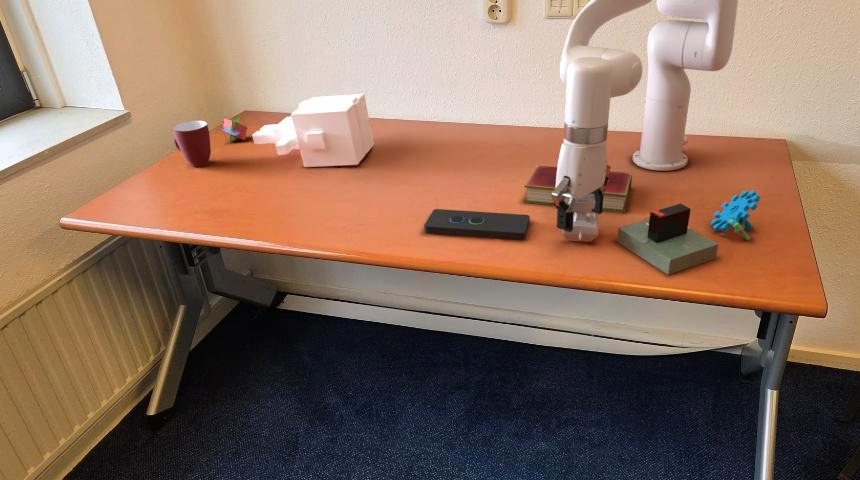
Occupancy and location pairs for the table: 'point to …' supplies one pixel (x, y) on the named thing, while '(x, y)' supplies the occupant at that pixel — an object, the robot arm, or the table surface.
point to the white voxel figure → (323, 131)
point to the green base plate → (667, 247)
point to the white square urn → (583, 220)
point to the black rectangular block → (668, 223)
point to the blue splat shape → (736, 213)
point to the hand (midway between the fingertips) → (579, 220)
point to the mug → (193, 142)
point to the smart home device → (477, 224)
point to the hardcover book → (545, 184)
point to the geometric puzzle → (234, 129)
